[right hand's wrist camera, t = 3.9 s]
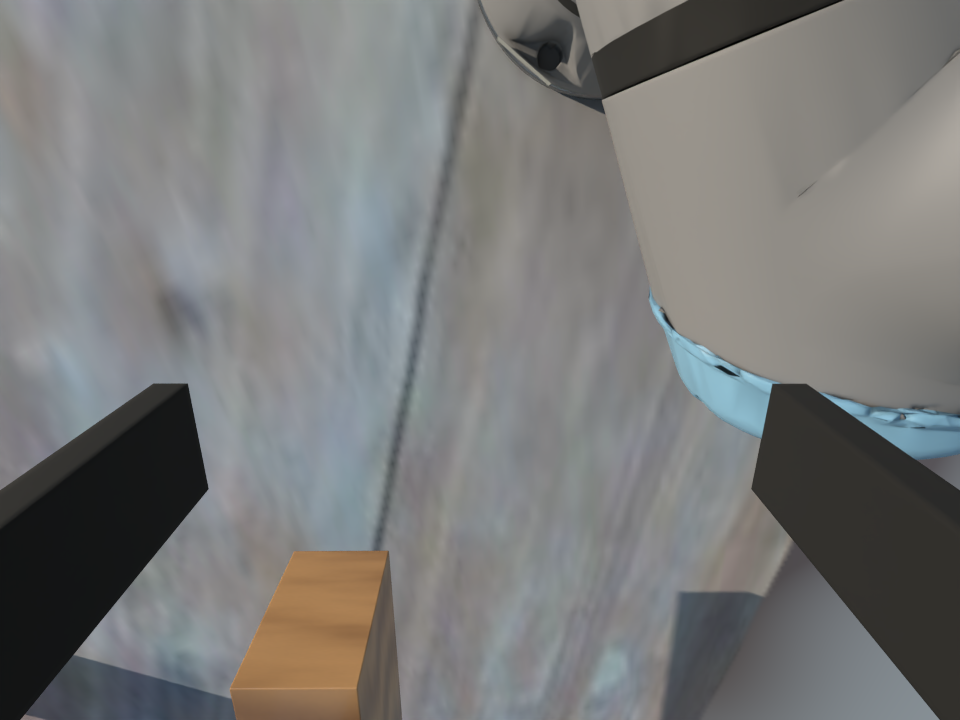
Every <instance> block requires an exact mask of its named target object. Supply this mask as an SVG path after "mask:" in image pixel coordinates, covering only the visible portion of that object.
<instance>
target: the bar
mask: <svg viewBox="0 0 960 720" xmlns="http://www.w3.org/2000/svg"><path fill="white" fill-rule="evenodd" d="M230 693H231V697H232V702H233V706H234V711H235V715H236V720H402V712H401V699H400V687H399V674H398V661H397V649H396V636H395V623H394V610H393V598H392V585H391V572H390V560H389V551H295V552H294V553H293V555H292V557H291V559H290V561H289V564H288V566H287V568H286V570H285V572H284V574H283V576H282V578H281V581H280V583H279V585H278V587H277V589H276V591H275V593H274V596H273V598H272V600H271V602H270V604H269V606H268V608H267V610H266V613H265V615H264V617H263V619H262V621H261V623H260V625H259V628H258V630H257V632H256V634H255V636H254V638H253V640H252V642H251V645H250V647H249V649H248V651H247V653H246V655H245V657H244V660H243V662H242V664H241V666H240V668H239V670H238V672H237V674H236V677H235V679H234V681H233V683H232V685H231V687H230Z"/></svg>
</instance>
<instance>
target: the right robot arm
mask: <svg viewBox="0 0 960 720" xmlns="http://www.w3.org/2000/svg"><path fill="white" fill-rule="evenodd" d="M478 3H479V6H480V9H481V11H482V14H483V17H484V19H485V21H486V23H487V25H488V27H489V29H490V31H491V33H492V34H493V36H494V38H495V39H496V41H497V43H498V44H499V45H500V47H501V48H502V49H503V51H504V52H505V53H506V55H507V56H508V57H509V58H510V59H511V60H512V61H513V62H514V63H515V64H516V65H517V66H518V67H519V68H520V69H521V70H522V71H523V72H524V73H526V74H527V75H528V76H530V77H531V78H533V79H534V80H535V81H537V82H539V83H541V84H542V85H544V86H546V87H548V88H550V89H552V90H555V91H557V92H560V93H563V94H566V95H569V96H574V97H579V98H586V99H604V100H602V103H603V107H604V110H605V114H606V118H607V122H608V125H609V129H610V133H611V137H612V141H613V145H614V148H615V152H616V156H617V160H618V164H619V168H620V172H621V176H622V180H623V183H624V187H625V191H626V195H627V199H628V203H629V207H630V211H631V214H632V218H633V222H634V226H635V230H636V234H637V238H638V242H639V246H640V249H641V253H642V257H643V261H644V265H645V269H646V273H647V277H648V280H649V284H650V292H649V300H650V305H651V308H652V311H653V313H654V315H655V317H656V319H657V320H658V322H659V324H660V325H661V326H662V327H663V328H664V331H665V334H666V337H667V340H668V343H669V346H670V349H671V352H672V355H673V358H674V361H675V365H676V368H677V370H678V373H679V375H680V377H681V379H682V381H683V382H684V384H685V385H686V387H687V388H688V390H689V391H690V393H691V394H692V395H693V396H694V397H696V398H697V399H699V400H700V401H702V402H703V403H704V404H705V405H706V406H707V407H708V408H709V410H710V411H712V412H713V413H714V414H715V415H716V416H717V417H719V418H720V419H722V420H723V421H725V422H727V423H729V424H730V425H732V426H734V427H736V428H738V429H740V430H742V431H744V432H746V433H748V434H750V435H753V436H755V437H758V438H760V439H761V443H760V448H759V453H758V458H757V463H756V468H755V474H754V479H753V484H752V490H753V491H754V493H755V494H756V495H757V496H758V498H759V499H760V500H761V501H762V503H763V504H764V505H765V506H766V507H767V509H768V510H769V511H770V512H771V514H772V515H773V516H774V517H775V518H776V520H777V521H778V522H779V523H780V525H781V526H782V527H783V528H784V529H785V531H786V532H787V533H788V534H789V536H790V537H791V538H792V539H793V540H794V542H795V543H796V544H797V545H798V547H799V548H800V549H801V550H802V551H803V553H804V554H805V555H806V556H807V558H808V559H809V560H810V561H811V562H812V564H813V565H814V566H815V567H816V569H817V570H818V571H819V572H820V574H821V575H822V576H823V577H824V578H825V580H826V581H827V582H828V583H829V585H830V586H831V587H832V588H833V589H834V591H835V592H836V593H837V594H838V596H839V597H840V598H841V599H842V601H843V602H844V603H845V604H846V605H847V607H848V608H849V609H850V610H851V612H852V613H853V614H854V615H855V616H856V618H857V619H858V620H859V621H860V623H861V624H862V625H863V626H864V628H865V629H866V630H867V631H868V632H869V634H870V635H871V636H872V637H873V638H874V640H875V641H876V642H877V643H878V645H879V646H880V647H881V648H882V650H883V651H884V652H885V653H886V654H887V656H888V657H889V658H890V659H891V661H892V662H893V663H894V664H895V665H896V667H897V668H898V669H899V670H900V672H901V673H902V674H903V675H904V677H905V678H906V679H907V680H908V681H909V683H910V684H911V685H912V686H913V688H914V689H915V690H916V691H917V692H918V694H919V695H920V696H921V697H922V699H923V700H924V701H925V702H926V703H927V705H928V706H929V707H930V708H931V710H932V711H933V712H934V713H935V715H936V716H937V717H938V718H939V719H940V720H960V490H958V489H957V488H956V487H954V486H953V485H951V484H950V483H948V482H947V481H945V480H944V479H943V478H941V477H940V476H938V475H937V474H935V473H934V472H933V471H931V470H930V469H928V468H927V467H925V466H924V465H923V464H921V463H920V462H918V461H917V460H921V459H932V458H940V457H947V456H952V455H957V454H960V0H478ZM207 490H208V484H207V479H206V474H205V468H204V463H203V458H202V453H201V448H200V443H199V438H198V433H197V428H196V423H195V418H194V413H193V408H192V403H191V398H190V393H189V388H188V384H152V385H151V386H149V387H148V388H147V389H145V390H144V391H142V392H141V393H139V394H138V395H137V396H135V397H134V398H132V399H131V400H129V401H128V402H126V403H125V404H124V405H122V406H121V407H119V408H118V409H116V410H115V411H114V412H112V413H111V414H109V415H108V416H106V417H105V418H104V419H102V420H101V421H99V422H98V423H96V424H95V425H93V426H92V427H91V428H89V429H88V430H86V431H85V432H83V433H82V434H81V435H79V436H78V437H76V438H75V439H73V440H72V441H71V442H69V443H68V444H66V445H65V446H63V447H62V448H60V449H59V450H58V451H56V452H55V453H53V454H52V455H50V456H49V457H48V458H46V459H45V460H43V461H42V462H40V463H39V464H37V465H36V466H35V467H33V468H32V469H30V470H29V471H27V472H26V473H25V474H23V475H22V476H20V477H19V478H17V479H16V480H15V481H13V482H12V483H10V484H9V485H7V486H6V487H4V488H3V489H2V490H0V720H20V719H21V718H22V717H23V716H24V715H25V713H26V712H27V711H28V710H29V708H30V707H31V706H32V705H33V703H34V702H35V701H36V700H37V699H38V697H39V696H40V695H41V694H42V692H43V691H44V690H45V689H46V688H47V686H48V685H49V684H50V683H51V681H52V680H53V679H54V678H55V677H56V675H57V674H58V673H59V672H60V670H61V669H62V668H63V667H64V666H65V664H66V663H67V662H68V661H69V659H70V658H71V657H72V656H73V654H74V653H75V652H76V651H77V650H78V648H79V647H80V646H81V645H82V643H83V642H84V641H85V640H86V639H87V637H88V636H89V635H90V634H91V632H92V631H93V630H94V629H95V628H96V626H97V625H98V624H99V623H100V621H101V620H102V619H103V618H104V616H105V615H106V614H107V613H108V612H109V610H110V609H111V608H112V607H113V605H114V604H115V603H116V602H117V601H118V599H119V598H120V597H121V596H122V594H123V593H124V592H125V591H126V590H127V588H128V587H129V586H130V585H131V583H132V582H133V581H134V580H135V578H136V577H137V576H138V575H139V574H140V572H141V571H142V570H143V569H144V567H145V566H146V565H147V564H148V563H149V561H150V560H151V559H152V558H153V556H154V555H155V554H156V553H157V552H158V550H159V549H160V548H161V547H162V545H163V544H164V543H165V542H166V540H167V539H168V538H169V537H170V536H171V534H172V533H173V532H174V531H175V529H176V528H177V527H178V526H179V525H180V523H181V522H182V521H183V520H184V518H185V517H186V516H187V515H188V514H189V512H190V511H191V510H192V509H193V507H194V506H195V505H196V504H197V503H198V501H199V500H200V499H201V498H202V496H203V495H204V494H205V493H206V491H207Z"/></svg>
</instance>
